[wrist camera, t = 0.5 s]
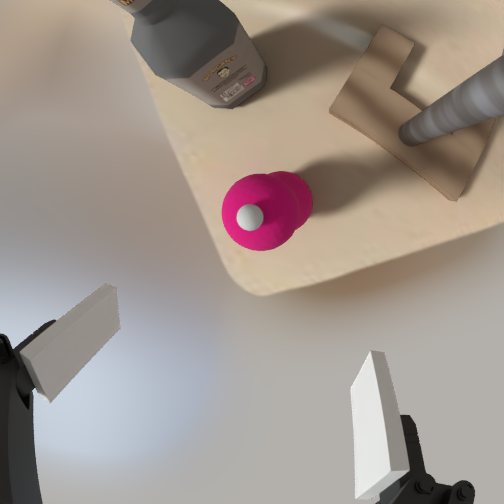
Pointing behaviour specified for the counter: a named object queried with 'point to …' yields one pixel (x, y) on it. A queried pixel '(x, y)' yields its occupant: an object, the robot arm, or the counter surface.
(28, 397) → the robot arm
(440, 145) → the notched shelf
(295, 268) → the counter surface
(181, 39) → the liquor
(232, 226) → the pepper mill
